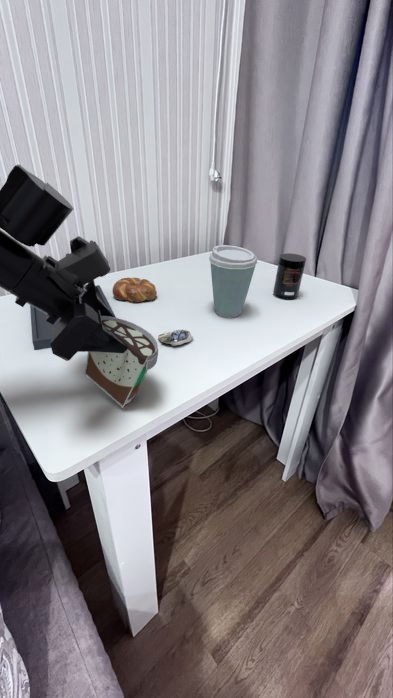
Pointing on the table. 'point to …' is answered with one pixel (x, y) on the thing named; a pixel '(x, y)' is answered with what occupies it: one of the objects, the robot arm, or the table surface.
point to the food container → (123, 361)
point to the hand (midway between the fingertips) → (121, 337)
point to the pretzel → (134, 289)
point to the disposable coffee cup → (231, 278)
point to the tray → (43, 328)
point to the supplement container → (289, 275)
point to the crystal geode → (176, 337)
